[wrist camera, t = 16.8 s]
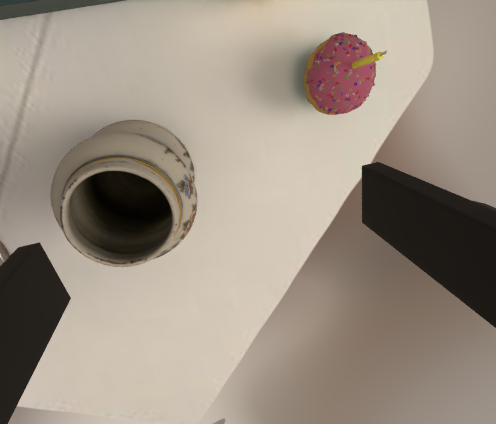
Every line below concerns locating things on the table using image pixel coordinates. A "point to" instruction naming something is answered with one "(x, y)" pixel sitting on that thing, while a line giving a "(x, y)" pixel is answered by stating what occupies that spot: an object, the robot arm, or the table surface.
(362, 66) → the cupcake
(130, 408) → the table surface
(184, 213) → the apothecary jar
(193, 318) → the table surface
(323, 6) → the table surface
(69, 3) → the rectangular frame
